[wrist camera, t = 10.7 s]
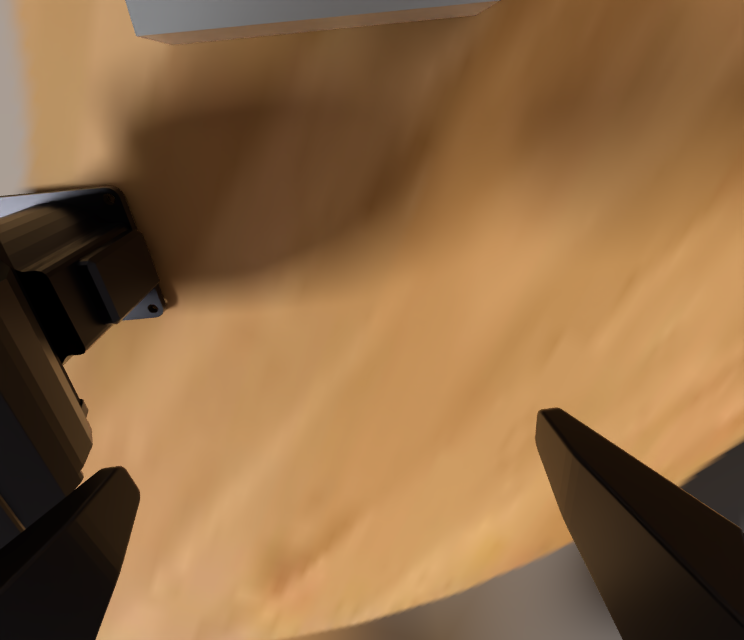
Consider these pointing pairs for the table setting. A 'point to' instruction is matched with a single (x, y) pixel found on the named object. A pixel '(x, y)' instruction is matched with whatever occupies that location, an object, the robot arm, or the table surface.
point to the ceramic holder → (280, 16)
